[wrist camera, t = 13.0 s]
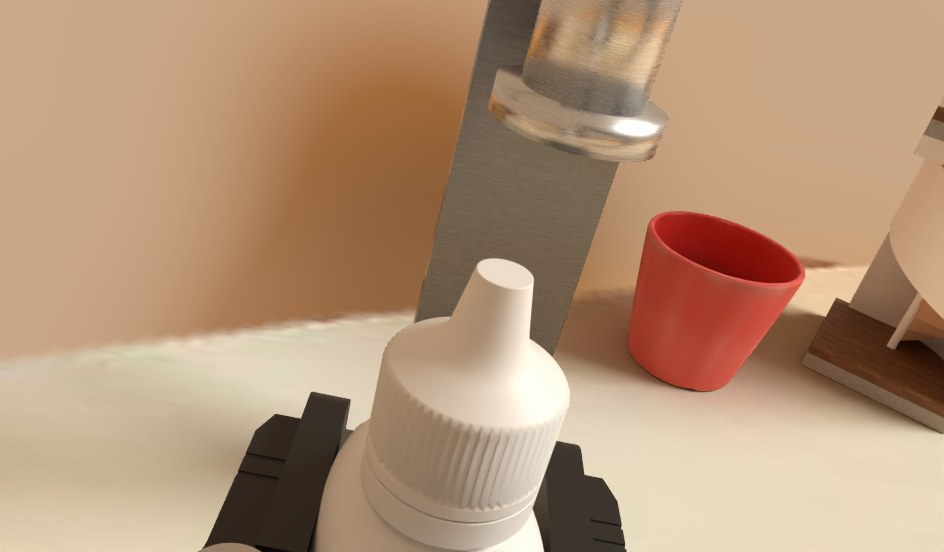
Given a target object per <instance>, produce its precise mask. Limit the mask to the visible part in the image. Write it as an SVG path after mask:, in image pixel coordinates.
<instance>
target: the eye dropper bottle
mask: <svg viewBox="0 0 944 552" xmlns="http://www.w3.org/2000/svg"><path fill="white" fill-rule="evenodd" d="M533 284H534V278H533V275H532V274H531V273H530V272H529V271H528V270H527V269H526V268H524V267H523V266H521V265H519V264H517V263H514V262H512V261H508V260H504V259H496V258H491V259H484V260H482V261H480V262H479V263H478V264H477V266H476V268H475V270H474V272H473V274H472V276H471V278H470V280H469V282H468V284H467V286H466V288H465V290H464V292H463V294H462V296H461V298H460V300H459V302H458V304H457V306H456V308H455V310H454V312H453V314H452V316H451V317H438V318H431V319H427V320H423V321H420V322H417V323H414V324H412V325H410V326H408V327H406V328H404V329H403V330H401V331H400V332H398V333H397V334H396V336H394V337H392V339H391V341H390V342H388V345H387V347H386V348H385V352H384V353H383V358H382V363H381V368H380V373H379V378H378V383H377V388H376V393H375V398H374V403H373V408H372V412H371V417H370V419H369V420H367V421H365V422H364V423H362V424H360V425H359V426H358V427H357V428H356V429H355V430H354V431H353V432H352V433H351V434H350V436H349V437H348V438H347V439H346V441H345V442H344V443H343V445H342V446H341V448H340V449H339V451H338V453H337V454H336V456H335V458H334V460H333V462H332V465H331V468H330V471H329V475H328V478H327V481H326V484H325V488H324V492H323V495H322V499H321V503H320V507H319V510H318V514H317V518H316V522H315V527H314V531H313V535H312V540H311V544H310V549H309V552H544V549H543V544H542V539H541V535H540V531H539V527H538V524H537V521H536V518H535V515H534V512H533V509H532V508H533V505H534V502H535V500H536V497H537V494H538V491H539V488H540V486H541V483H542V480H543V477H544V474H545V472H546V469H547V466H548V463H549V460H550V457H551V455H552V452H553V449H554V446H555V443H556V441H557V438H558V435H559V432H560V429H561V427H562V424H563V421H564V418H565V415H566V413H567V410H568V406H569V403H570V401H569V399H570V394H569V392H570V389H569V387H568V385H569V384H568V382H567V380H566V377H565V375H564V373H563V371H562V370H561V368H560V367H559V365H558V364H557V362H556V361H555V360H554V359H553V358H552V356H551V355H550V354H549V353H548V352H547V351H545V350H544V349H543V348H542V347H541V346H539V345H538V344H537V343H535V342H534V341H532V340H531V339H529V332H530V320H531V308H532V296H533Z"/></svg>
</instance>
